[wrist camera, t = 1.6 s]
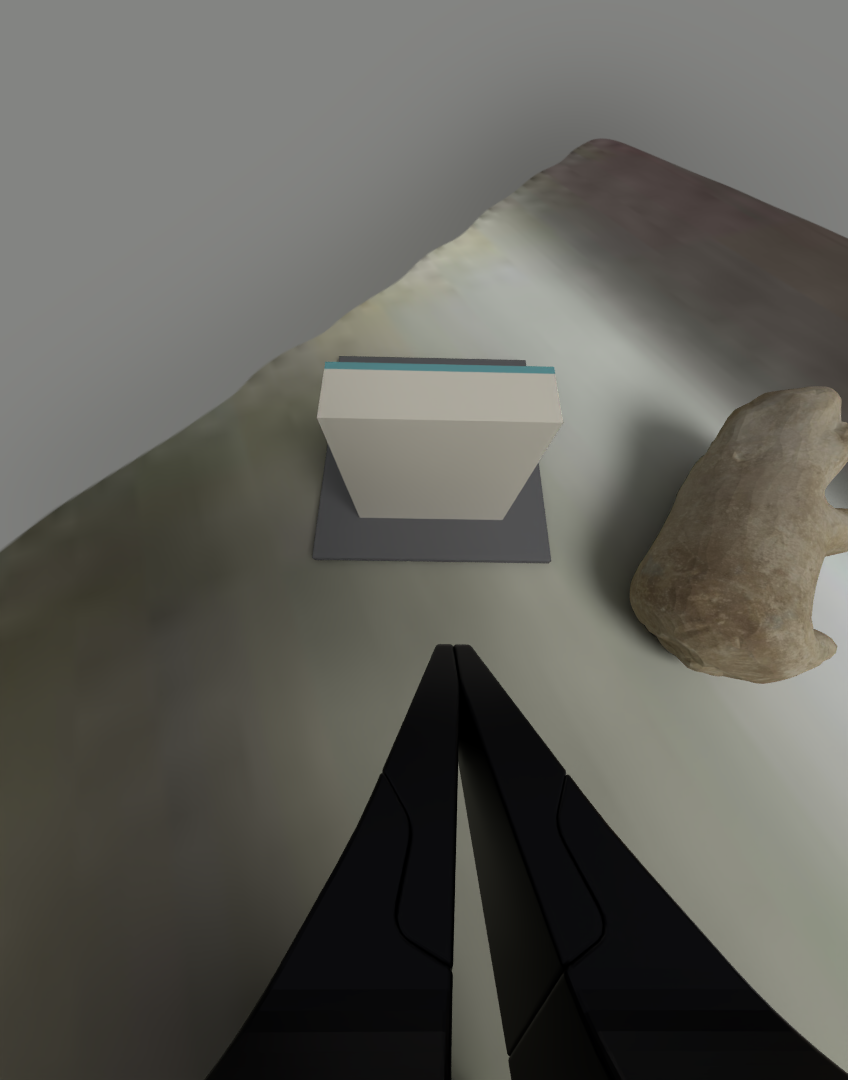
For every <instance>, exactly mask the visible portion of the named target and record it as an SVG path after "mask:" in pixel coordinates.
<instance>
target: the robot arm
mask: <svg viewBox="0 0 848 1080" xmlns="http://www.w3.org/2000/svg"><path fill="white" fill-rule="evenodd" d="M458 763H459V768H460V774H461V780H462V786H463V792H464V798H465V804H466V810H467V816H468V822H469V828H470V834H471V840H472V846H473V852H474V858H475V864H476V870H477V876H478V882H479V888H480V894H481V900H482V906H483V912H484V918H485V924H486V930H487V936H488V942H489V948H490V954H491V960H492V966H493V971H494V977H495V983H496V989H497V995H498V1001H499V1007H500V1013H501V1019H502V1025H503V1031H504V1037H505V1043H506V1049H507V1054H508V1055H509V1056H510V1057H509V1060H508V1061H509V1068H510V1074H511V1080H848V1073H846V1072H845V1071H844V1070H843V1069H841V1068H840V1067H839V1066H838V1065H836V1064H835V1063H834V1062H833V1061H831V1060H830V1059H829V1058H828V1057H826V1056H825V1055H824V1054H823V1053H822V1052H820V1051H819V1050H818V1049H817V1048H816V1047H815V1046H813V1045H812V1044H811V1043H810V1042H809V1041H808V1040H806V1039H805V1038H804V1037H803V1036H802V1035H801V1034H800V1033H798V1032H797V1031H796V1030H795V1029H794V1028H793V1027H792V1026H791V1025H790V1024H789V1023H788V1022H787V1021H786V1020H784V1019H783V1018H782V1017H781V1016H780V1015H779V1014H778V1013H777V1012H776V1011H775V1010H774V1009H773V1008H772V1007H771V1006H770V1005H769V1004H768V1003H767V1002H766V1001H765V1000H764V999H763V998H762V997H761V996H760V995H759V994H758V993H757V992H756V991H755V990H754V989H753V988H752V987H751V986H750V985H749V984H748V983H747V981H746V980H745V979H744V978H743V977H742V976H741V975H740V974H739V973H738V972H737V971H736V969H735V968H734V967H733V966H732V965H731V964H730V963H729V962H728V961H727V959H726V958H725V957H724V956H723V955H722V954H721V953H720V952H719V950H718V949H717V948H716V947H715V946H714V945H713V944H712V943H711V941H710V940H709V939H708V938H707V937H706V936H705V935H704V934H703V932H702V931H701V930H700V929H699V928H698V927H697V926H696V925H695V923H694V922H693V921H692V920H691V919H690V918H689V917H688V916H687V914H686V913H685V912H684V911H683V910H682V909H681V908H680V907H679V905H678V904H677V903H676V902H675V901H674V900H673V899H672V898H671V896H670V895H669V894H668V893H667V892H666V891H665V890H664V889H663V887H662V886H661V885H660V884H659V883H658V882H657V881H656V880H655V878H654V877H653V876H652V875H651V874H650V873H649V872H648V871H647V869H646V868H645V867H644V866H643V865H642V864H641V863H640V861H639V860H638V859H637V858H636V857H635V856H634V854H633V853H632V852H631V851H630V850H629V849H628V848H627V846H626V845H625V844H624V843H623V842H622V841H621V839H620V838H619V837H618V836H617V835H616V834H615V832H614V831H613V830H612V829H611V828H610V827H609V825H608V824H607V823H606V822H605V820H604V819H603V818H602V817H601V815H600V814H599V813H598V812H597V810H596V809H595V808H594V806H593V805H592V804H591V803H590V801H589V800H588V799H587V798H586V796H585V795H584V794H583V793H582V791H581V790H580V789H579V787H578V786H577V785H576V783H575V782H574V781H573V779H572V778H571V777H570V775H566V770H565V769H564V768H563V766H562V765H561V764H560V762H559V761H558V760H557V758H556V757H555V756H554V755H553V753H552V752H551V751H550V749H549V748H548V747H547V745H546V744H545V743H544V741H543V740H542V739H541V737H540V736H539V735H538V733H537V732H536V731H535V730H534V728H533V727H532V726H531V724H530V723H529V722H528V720H527V719H526V718H525V716H524V715H523V714H522V712H521V711H520V710H519V708H518V707H517V706H516V705H515V703H514V702H513V701H512V699H511V698H510V697H509V695H508V694H507V693H506V691H505V690H504V689H503V687H502V686H501V685H500V684H499V682H498V681H497V680H496V678H495V677H494V676H493V674H492V673H491V672H490V670H489V669H488V668H487V666H486V665H485V664H484V662H483V661H482V660H481V659H480V657H479V656H478V655H477V653H476V652H475V651H474V649H473V648H472V647H471V646H470V645H454V647H453V646H452V645H451V644H438V645H437V646H436V647H435V649H434V652H433V654H432V656H431V659H430V661H429V663H428V666H427V668H426V670H425V672H424V675H423V677H422V679H421V682H420V684H419V686H418V689H417V691H416V693H415V696H414V698H413V700H412V703H411V705H410V707H409V710H408V712H407V714H406V717H405V719H404V721H403V723H402V726H401V728H400V730H399V733H398V735H397V737H396V740H395V742H394V744H393V747H392V749H391V751H390V754H389V756H388V758H387V761H386V763H385V765H384V768H383V770H382V772H383V773H381V774H380V776H379V779H378V781H377V783H376V785H375V788H374V790H373V792H372V795H371V797H370V799H369V801H368V803H367V805H366V807H365V810H364V812H363V814H362V816H361V818H360V820H359V822H358V825H357V827H356V829H355V830H354V832H353V834H352V836H351V838H350V840H349V842H348V844H347V846H346V847H345V849H344V851H343V853H342V855H341V857H340V859H339V861H338V863H337V864H336V866H335V868H334V870H333V871H332V873H331V875H330V877H329V879H328V880H327V882H326V884H325V886H324V887H323V889H322V891H321V893H320V895H319V896H318V898H317V900H316V902H315V903H314V905H313V907H312V909H311V911H310V912H309V914H308V916H307V918H306V919H305V921H304V923H303V925H302V926H301V928H300V930H299V932H298V934H297V935H296V937H295V939H294V941H293V942H292V944H291V946H290V948H289V950H288V951H287V953H286V955H285V957H284V958H283V960H282V962H281V964H280V966H279V967H278V969H277V971H276V972H275V974H274V976H273V978H272V979H271V981H270V983H269V984H268V986H267V988H266V989H265V991H264V993H263V994H262V996H261V998H260V999H259V1001H258V1002H257V1004H256V1006H255V1007H254V1009H253V1011H252V1012H251V1014H250V1015H249V1017H248V1018H247V1020H246V1021H245V1023H244V1025H243V1026H242V1028H241V1029H240V1031H239V1032H238V1034H237V1035H236V1037H235V1038H234V1040H233V1041H232V1043H231V1044H230V1046H229V1047H228V1048H227V1050H226V1051H225V1053H224V1054H223V1056H222V1057H221V1058H220V1060H219V1061H218V1063H217V1064H216V1065H215V1066H214V1068H213V1069H212V1070H211V1072H210V1073H209V1074H208V1076H207V1077H206V1078H205V1080H451V1047H452V987H453V974H452V967H453V947H454V907H455V868H456V828H457V788H458Z"/></svg>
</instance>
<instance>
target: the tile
mask: <svg viewBox="0 0 848 1080" xmlns="http://www.w3.org/2000/svg"><path fill="white" fill-rule="evenodd" d="M317 419H318V422H319V424H320V426H321V429H322V431H323V433H324V435H325V438H326V440H327V442H328V445H329V447H330V449H331V452H332V454H333V456H334V459H335V461H336V463H337V466H338V468H339V470H340V473H341V475H342V477H343V480H344V482H345V484H346V487H347V489H348V491H349V494H350V496H351V498H352V501H353V503H354V505H355V508H356V510H357V512H358V515H359V517H360V518H408V519H468V520H503V518H504V517H505V515H506V514H507V512H508V510H509V509H510V507H511V506H512V504H513V502H514V501H515V499H516V498H517V496H518V494H519V493H520V491H521V490H522V488H523V486H524V485H525V483H526V482H527V480H528V478H529V477H530V475H531V474H532V472H533V470H534V469H535V467H536V466H537V464H538V462H539V461H540V459H541V458H542V456H543V454H544V453H545V451H546V450H547V448H548V446H549V445H550V443H551V442H552V440H553V438H554V437H555V435H556V434H557V432H558V430H559V429H560V427H561V426H562V424H563V418H562V412H561V406H560V400H559V394H558V388H557V382H556V376H555V370H554V367H535V366H491V365H446V364H401V363H357V362H325V368H324V374H323V381H322V388H321V394H320V401H319V407H318V414H317Z"/></svg>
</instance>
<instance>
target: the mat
mask: <svg viewBox="0 0 848 1080" xmlns="http://www.w3.org/2000/svg"><path fill="white" fill-rule="evenodd" d="M339 362H357V363H401V364H446V365H491V366H526V361H525V360H490V359H446V358H402V357H357V356H339ZM312 558H313V559H314V560H367V561H433V562H500V563H549V562H551V556H550V548H549V540H548V532H547V524H546V517H545V509H544V501H543V493H542V486H541V478H540V470H539V462H538V464H537V466H536V467H535V469H534V470H533V472H532V474H531V475H530V477H529V478H528V480H527V482H526V483H525V485H524V486H523V488H522V490H521V491H520V493H519V494H518V496H517V498H516V499H515V501H514V502H513V504H512V506H511V507H510V509H509V510H508V512H507V514H506V515H505V517H504V518H503V520H468V519H408V518H360V517H359V515H358V512H357V510H356V508H355V505H354V503H353V501H352V498H351V496H350V494H349V491H348V489H347V487H346V484H345V482H344V480H343V477H342V475H341V473H340V470H339V468H338V466H337V463H336V461H335V459H334V456H333V454H332V452H331V449H330V447H329V445H327V453H326V460H325V467H324V475H323V482H322V490H321V497H320V505H319V512H318V519H317V527H316V534H315V542H314V549H313V557H312Z"/></svg>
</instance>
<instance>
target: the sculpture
mask: <svg viewBox="0 0 848 1080" xmlns="http://www.w3.org/2000/svg"><path fill="white" fill-rule="evenodd" d="M847 461H848V423H845V422H841V398H840V396H839V395H838V393H837V392H836V391H834V390H833V389H831V388H828V387H820V386H812V387H804V388H798V389H788V390H780V391H775V392H768V393H764V394H762V395H761V396H759V397H757V398H756V399H754V400H753V401H751V402H750V403H748V404H745V405H743V406H741V407H739V408H737V409H735V410H734V411H733V412H732V414H731V415H730V416H729V417H728V418H727V420H726V422H725V423H724V425H723V427H722V428H721V430H720V431H719V433H718V435H717V437H716V438H715V440H714V441H713V442H712V444H711V446H710V447H709V449H708V451H707V452H706V454H705V455H704V456H702V457H701V458H700V459H699V460H698V461H697V462H696V464H695V465H694V466H693V468H692V469H691V471H690V473H689V475H688V477H687V478H686V480H685V482H684V483H683V485H682V486H681V488H680V489H679V491H678V493H677V496H676V500H675V502H674V505H673V507H672V509H671V512H670V514H669V516H668V518H667V520H666V522H665V523H664V525H663V527H662V529H661V531H660V533H659V534H658V536H657V538H656V539H655V541H654V543H653V544H652V546H651V548H650V549H649V551H648V552H647V554H646V556H645V557H644V559H643V560H642V562H641V563H640V565H639V567H638V569H637V570H636V572H635V574H634V576H633V578H632V582H631V585H630V602H631V606H632V609H633V611H634V613H635V615H636V617H637V618H638V620H639V622H641V623H642V624H644V625H645V626H646V628H647V629H648V631H649V632H651V633H652V634H654V635H656V636H657V638H658V640H659V641H660V643H661V644H662V646H663V647H664V648H665V649H666V650H668V651H669V652H670V653H672V654H673V655H675V656H676V657H678V659H679V660H680V661H681V662H682V663H683V664H684V665H685V666H686V667H687V668H689V669H692V670H694V671H698V672H704V673H707V674H710V675H713V676H725V677H730V678H735V679H740V680H746V681H750V682H753V683H760V684H765V683H771V682H777V681H781V680H785V679H788V678H791V677H794V676H797V675H799V674H801V673H803V672H806V671H808V670H811V669H813V668H815V667H817V666H819V665H820V664H821V663H822V662H823V661H825V660H827V659H830V658H831V657H832V656H833V655H834V654H835V653H836V650H837V645H836V644H835V642H834V641H833V640H832V639H831V638H830V637H829V636H827V635H825V634H824V633H822V632H820V631H817V630H815V629H813V624H812V619H811V616H812V607H813V599H814V593H815V588H816V584H817V580H818V576H819V573H820V569H821V566H822V563H823V560H824V558H825V557H826V556H830V555H834V554H839V553H843V552H847V551H848V509H843V508H833V507H832V506H831V505H830V504H829V503H828V502H827V500H826V498H825V489H826V487H827V486H828V484H829V483H830V482H831V481H832V479H833V478H834V477H835V476H836V475H837V474H838V473H839V472H840V470H841V469H842V468H843V467H844V466H845V464H846V463H847Z"/></svg>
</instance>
